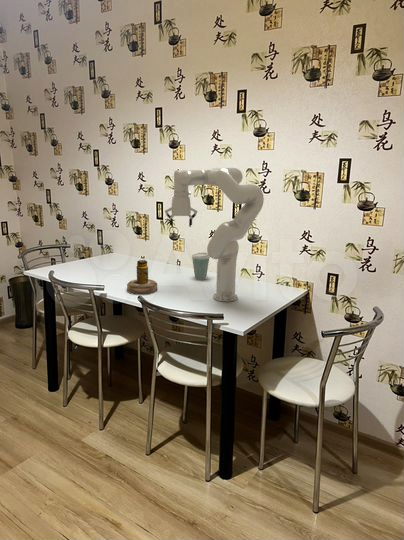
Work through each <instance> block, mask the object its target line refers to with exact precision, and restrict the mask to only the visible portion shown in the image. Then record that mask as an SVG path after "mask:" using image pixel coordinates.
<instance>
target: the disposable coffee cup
mask: <svg viewBox="0 0 404 540" xmlns="http://www.w3.org/2000/svg"><path fill="white" fill-rule="evenodd" d="M191 259H192V265H193V266H192V267H193V271H194V279H195V280H199V281H204V280H206V278H207V276H208V268H209V262H210V259H211V257H210V256H209V255H208V252H196V253H193V255H192V256H191Z"/></svg>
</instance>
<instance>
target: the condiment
mask: <svg viewBox="0 0 404 540" xmlns="http://www.w3.org/2000/svg"><path fill="white" fill-rule="evenodd" d="M148 279H149V266H148V261H147V260H146V259H145V260H144V259H139V260H137V265H136V280H137V281H132V280H131V281H132V283H133V284H135V285H136V286H137V285H143V284H150V282H148Z"/></svg>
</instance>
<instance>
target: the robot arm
mask: <svg viewBox="0 0 404 540" xmlns="http://www.w3.org/2000/svg"><path fill="white" fill-rule="evenodd" d="M243 178H244V177H243V173H242V171H241V170H240V169H239V168H236V167H222V168H221V167H218V168H217V167H216V168H215V167H214V168H211V169H191V170H187V169H186V170H185V169H178V170H177V169H176V170H175V171H174V172H173V196H172V199H171V207H170V208H169V207H168V208H167V209H165V210H164V213H165V215H166V217H167V218H168V219H169V225H170V227H171V228H172V227H173V228H174V222H173V221H174V219H173V218H174V217H175V216H176V217H189V221H188V223H189V224H188V226H189V228H191V226H192V225H193V219H194V218H195V217H196V215H197V214H198V210H196V209H194V208H193V207H192V206H191V198H190V196H189V195H192V191H189V186H201V185H202V186H203V185H204V186H205V185H206V186H207V185H210V186H213V187H218V188H219V189H220V190H221V191H222V192H223V194H224V195H225V196H226V197H227V198H228V199H229V200H230V201H231V202H232V203H233V204H235V205H243V206H241V208H240V209H239V210H238V212H237V214H236V215H235V217H234V218H232V220H230V221H224V222H222V223H221V224H219V226H218V227H217V228H216V230H215V231H214V233H213V235H212V236H211V239H210V240H209V241H208V244H207V248H206V253H208V255H209V256H210V259H212V260H217V262H216V263H217V264H216V290H215V291H216V293H213V295H212V296H213V299H214V300H216V301H218V302H224V303H225V302H226V303H228V302H229V303H230V302H234V301H237V300H238V298H239V296H238V294H236V280H237V279H236V278H237V276H236V273H237V259H238V253H239V249H240V248H239V246H240V245H239V243H238V241H239V240H242V239H243V238H244V237H245V236H246V234H247V233H248V231H249V229H250V228H251V226H252V225H253V223H254V221H255V219H256V218H257V217H258V215H259V214H260V212H261V211H262V209H263V206H264V202H265V201H264V200H265V197H264V192H263V191H262V188H260V186H258V185H257V184H251V183H250V184H247V183H246V184H240V183H241V182H242V181H243ZM170 211H171V214H169V212H170ZM192 212H193V214H192V215H191V213H192Z"/></svg>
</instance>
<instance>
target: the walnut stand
mask: <svg viewBox="0 0 404 540" xmlns="http://www.w3.org/2000/svg"><path fill="white" fill-rule="evenodd" d="M132 281H137V279H133V280H130V281H129V282H128V283H126V288H127V289H126V291H127V293H129V292H130V293H129V294H131V293H133V294H132V295H136V294H146V295H151V293H152V294H155V293H156V292H157V291H158V283H157V282H156V281H155V280H153V279H149V278H148V282H150V284H143V285H137V286H136V285H135V284H133V283H132Z"/></svg>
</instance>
